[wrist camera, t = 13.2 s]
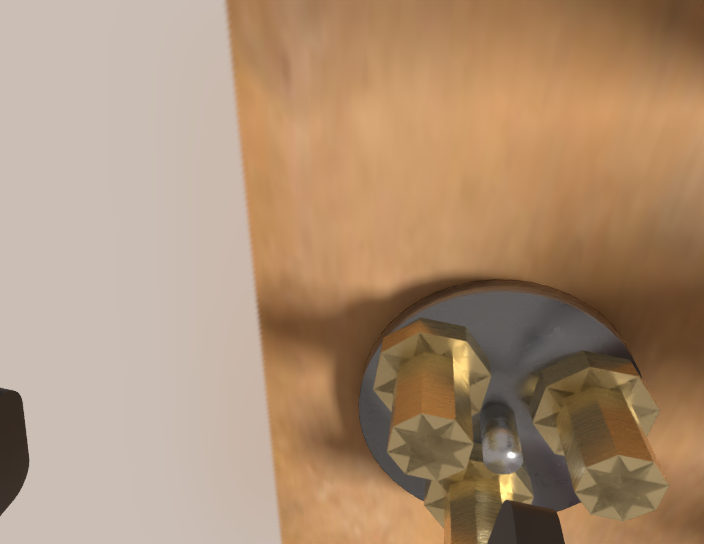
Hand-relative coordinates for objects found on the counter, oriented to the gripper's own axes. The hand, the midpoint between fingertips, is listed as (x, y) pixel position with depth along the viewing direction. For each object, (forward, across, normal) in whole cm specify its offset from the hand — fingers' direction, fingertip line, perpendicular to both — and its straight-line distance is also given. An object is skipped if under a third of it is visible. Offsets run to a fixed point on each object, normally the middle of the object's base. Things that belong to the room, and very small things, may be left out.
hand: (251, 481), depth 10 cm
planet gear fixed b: (+26, -6, +14) cm, 30 cm away
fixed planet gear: (+26, -16, +14) cm, 34 cm away
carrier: (+28, -11, +18) cm, 35 cm away
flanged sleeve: (+26, -11, +24) cm, 37 cm away
